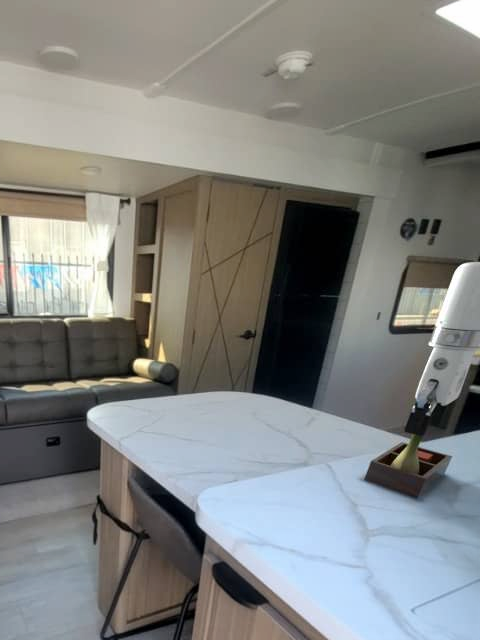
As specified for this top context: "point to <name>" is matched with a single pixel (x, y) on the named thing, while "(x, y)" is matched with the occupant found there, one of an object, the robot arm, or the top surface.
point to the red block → (424, 456)
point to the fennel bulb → (409, 456)
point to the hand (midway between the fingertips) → (422, 428)
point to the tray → (405, 480)
